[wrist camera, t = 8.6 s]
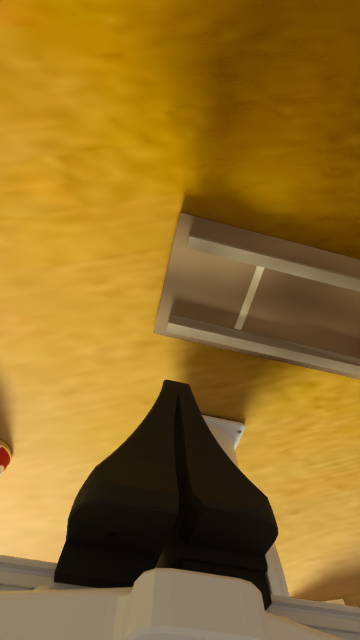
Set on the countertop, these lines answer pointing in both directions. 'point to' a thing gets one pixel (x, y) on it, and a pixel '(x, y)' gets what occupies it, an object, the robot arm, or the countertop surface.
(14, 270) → the countertop surface
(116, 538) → the robot arm
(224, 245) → the fader board
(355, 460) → the countertop surface
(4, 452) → the soda can
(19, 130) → the countertop surface
